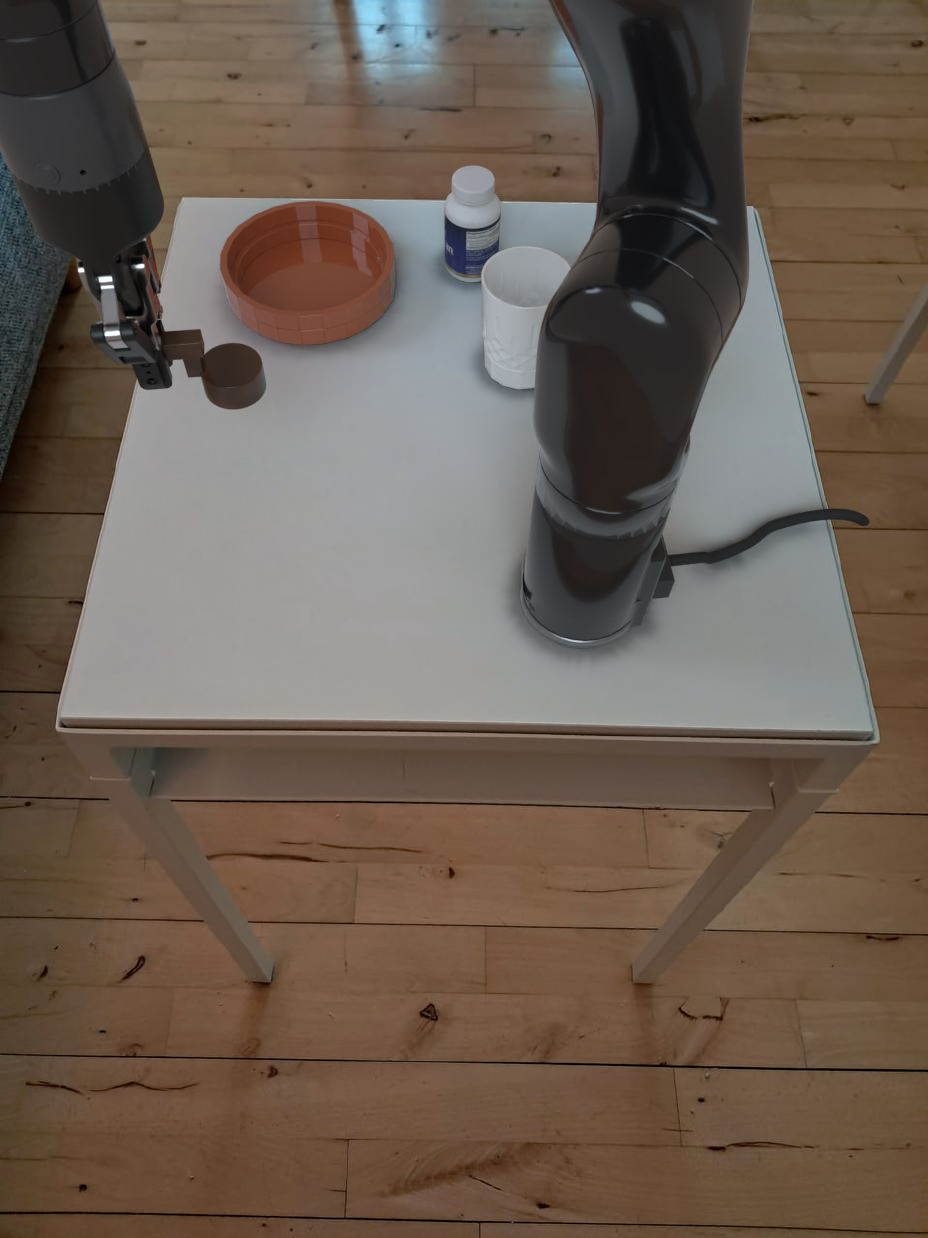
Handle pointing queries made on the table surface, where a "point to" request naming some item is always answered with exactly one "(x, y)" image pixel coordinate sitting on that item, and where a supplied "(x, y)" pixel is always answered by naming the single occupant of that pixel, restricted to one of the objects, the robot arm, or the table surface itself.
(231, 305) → the bowl
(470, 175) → the pill bottle
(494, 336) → the white cup
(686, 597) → the table surface
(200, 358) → the brown cylinder with tab
